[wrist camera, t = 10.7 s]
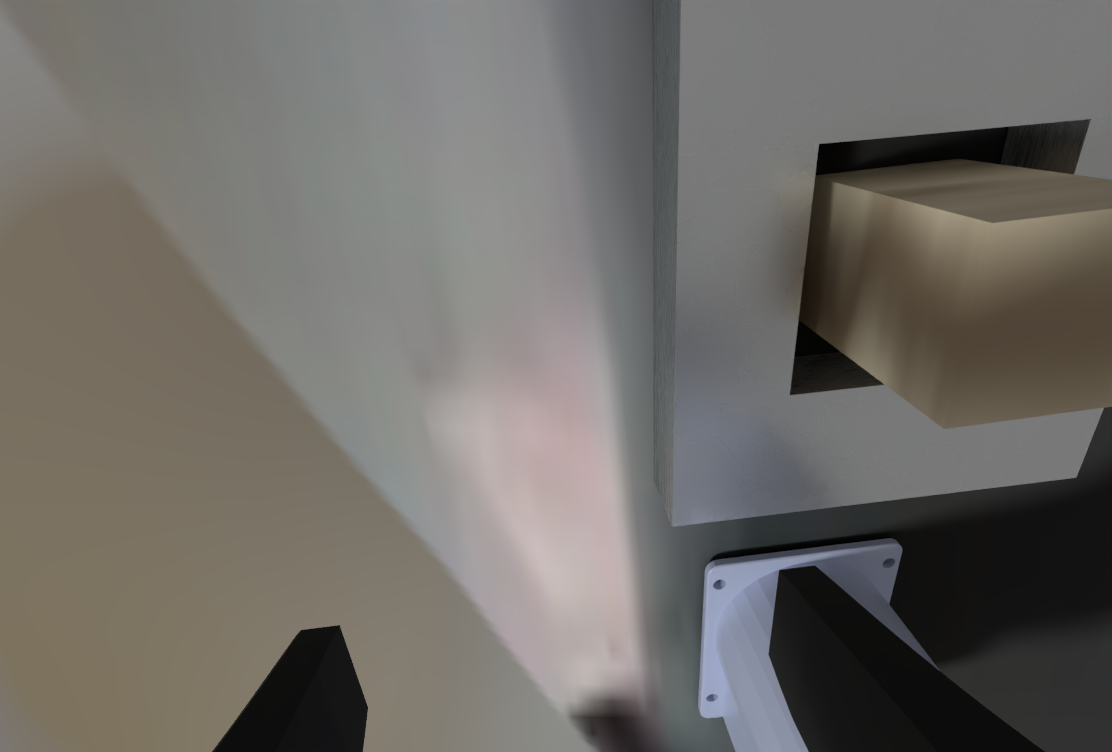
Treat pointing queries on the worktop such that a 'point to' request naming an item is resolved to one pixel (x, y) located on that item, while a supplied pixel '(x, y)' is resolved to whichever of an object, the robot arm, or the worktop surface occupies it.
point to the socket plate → (783, 226)
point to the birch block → (967, 286)
